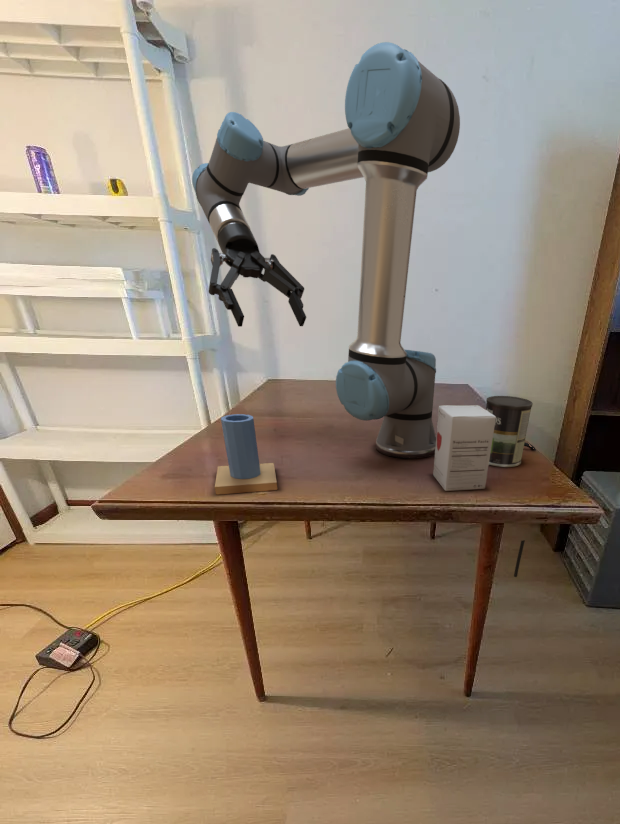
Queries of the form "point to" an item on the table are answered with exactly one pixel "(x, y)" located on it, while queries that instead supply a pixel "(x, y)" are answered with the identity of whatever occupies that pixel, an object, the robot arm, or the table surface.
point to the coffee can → (508, 429)
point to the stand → (245, 481)
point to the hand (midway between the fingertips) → (273, 321)
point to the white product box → (463, 447)
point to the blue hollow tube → (241, 446)
